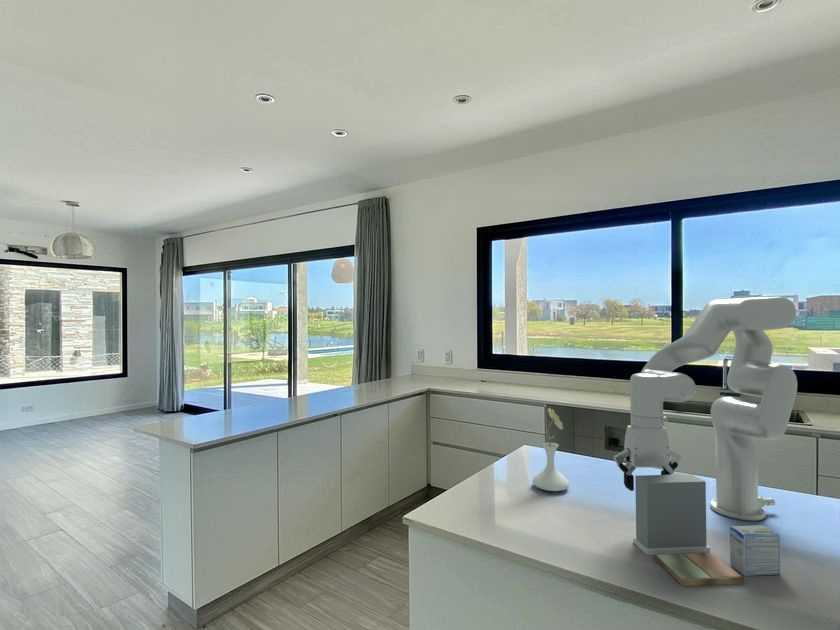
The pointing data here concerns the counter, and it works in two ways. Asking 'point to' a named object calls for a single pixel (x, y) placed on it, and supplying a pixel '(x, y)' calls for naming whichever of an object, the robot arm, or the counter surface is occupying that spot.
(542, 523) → the counter surface
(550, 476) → the flower in vase
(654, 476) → the cabinet
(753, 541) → the medicine box
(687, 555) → the board
